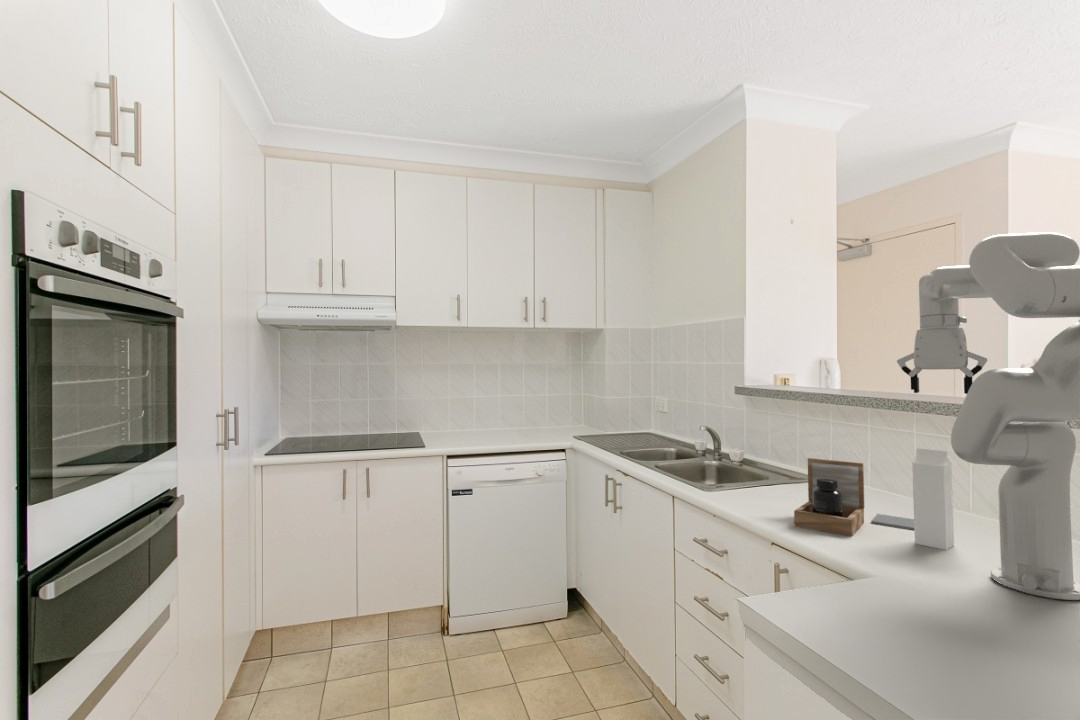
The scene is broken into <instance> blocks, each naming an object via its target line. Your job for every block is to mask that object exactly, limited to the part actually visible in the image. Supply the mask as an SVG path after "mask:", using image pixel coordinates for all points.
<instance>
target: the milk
mask: <svg viewBox="0 0 1080 720" xmlns="http://www.w3.org/2000/svg"><path fill="white" fill-rule="evenodd" d="M915 453H916V454H915V457H914V459H913V461H912V463H911V464H912V466H911V467H912V495H913V519H914V530H913V531H914V533H913V534H914V544H916V545H921V546H924V547H929V548H934V549H940V550H943V551H947V550H949V549H950V548H952V547H954V546H955V535H954V533H955V532H954V531H955V529H954V507H953V506H954V505H953V503H954V501H953V498H954V497H953V481H952V480H953V477H952V476H953V475H952V471H953V469H952V462H951V461H950V459H949V458H948V451H946V450H941V449H940V450H939V449H929V448H916V449H915Z"/></svg>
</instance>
